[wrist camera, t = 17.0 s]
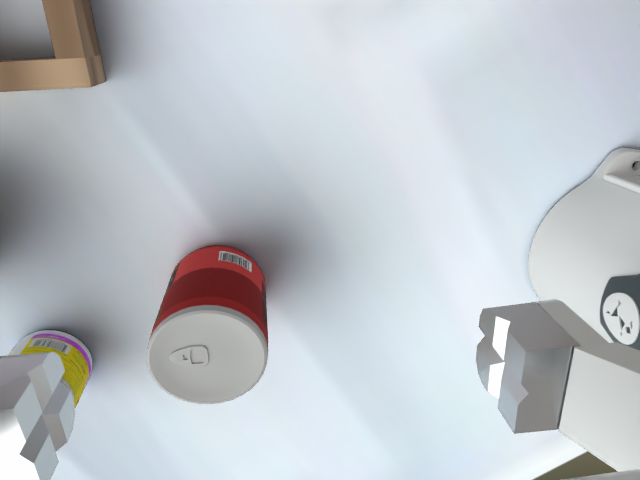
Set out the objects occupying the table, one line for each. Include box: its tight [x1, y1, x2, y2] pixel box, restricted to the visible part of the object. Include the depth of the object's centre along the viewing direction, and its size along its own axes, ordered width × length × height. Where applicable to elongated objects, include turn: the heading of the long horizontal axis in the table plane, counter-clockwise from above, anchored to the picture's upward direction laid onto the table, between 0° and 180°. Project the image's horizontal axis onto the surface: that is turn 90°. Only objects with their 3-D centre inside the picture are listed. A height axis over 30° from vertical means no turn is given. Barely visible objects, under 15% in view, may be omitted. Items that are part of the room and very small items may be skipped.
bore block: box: [0, 0, 106, 92], centre depth 32 cm, size 10×10×4 cm
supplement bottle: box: [8, 330, 92, 408], centre depth 38 cm, size 7×7×13 cm
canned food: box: [147, 246, 268, 404], centre depth 38 cm, size 8×8×11 cm
